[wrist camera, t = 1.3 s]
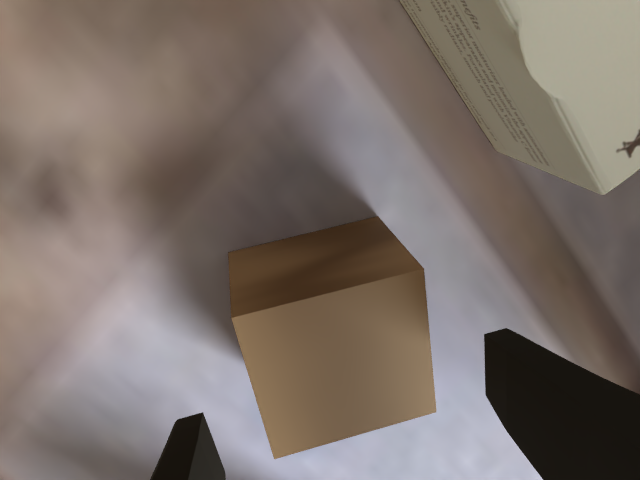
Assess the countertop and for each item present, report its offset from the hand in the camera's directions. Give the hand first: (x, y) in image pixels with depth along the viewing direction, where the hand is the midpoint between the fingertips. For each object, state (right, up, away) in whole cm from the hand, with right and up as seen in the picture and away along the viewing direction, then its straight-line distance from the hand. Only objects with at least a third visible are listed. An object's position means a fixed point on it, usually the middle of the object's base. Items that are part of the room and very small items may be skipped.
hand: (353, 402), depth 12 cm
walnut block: (-1, +2, +5) cm, 5 cm away
